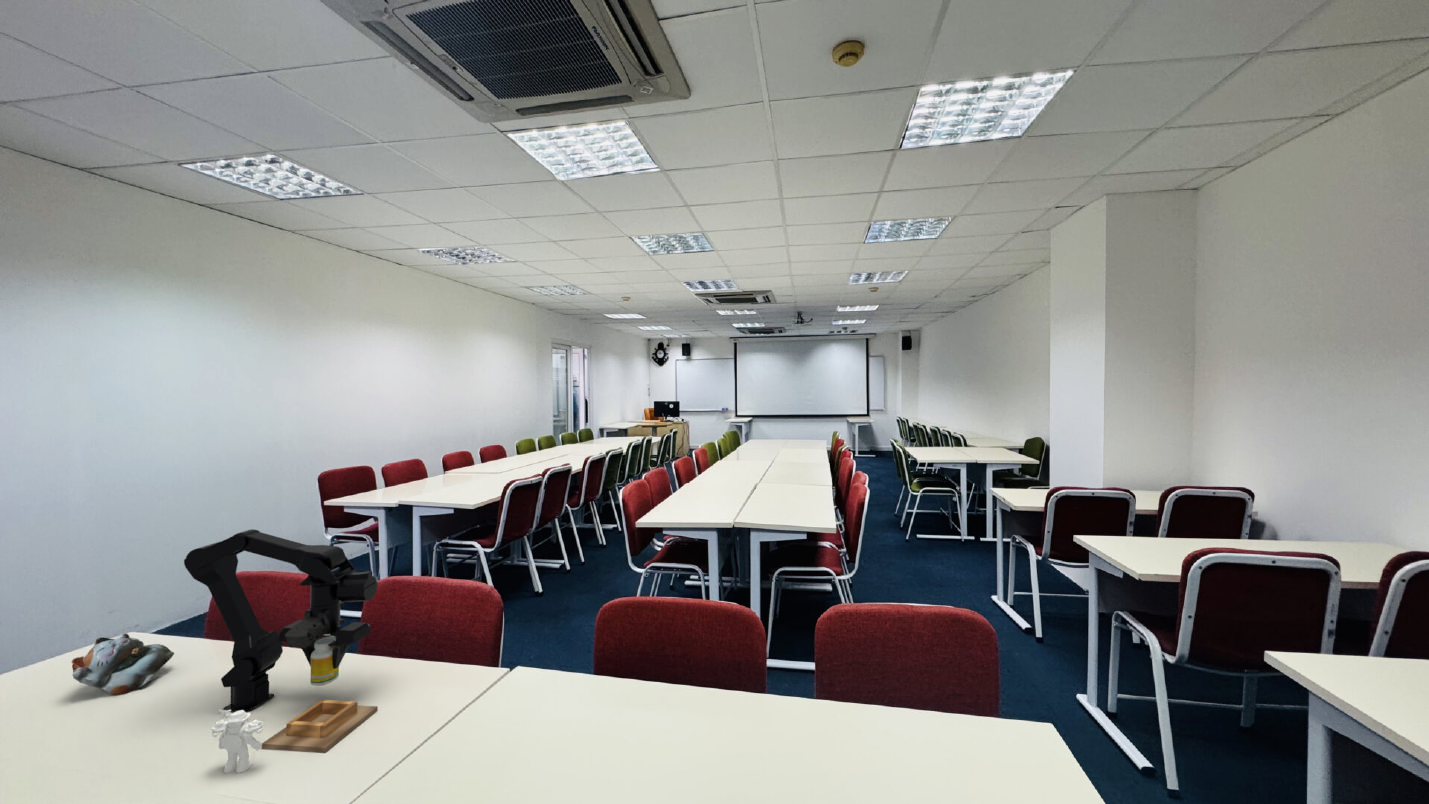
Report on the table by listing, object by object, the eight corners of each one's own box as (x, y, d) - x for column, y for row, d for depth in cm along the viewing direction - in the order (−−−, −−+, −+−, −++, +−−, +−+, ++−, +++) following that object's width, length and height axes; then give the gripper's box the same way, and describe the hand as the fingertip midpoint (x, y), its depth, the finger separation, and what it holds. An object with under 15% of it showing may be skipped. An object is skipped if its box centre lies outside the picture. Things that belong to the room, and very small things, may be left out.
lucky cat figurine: (133, 696, 120) (90, 654, 116) (86, 716, 120) (40, 675, 116) (187, 649, 134) (150, 610, 130) (145, 667, 134) (106, 629, 130)
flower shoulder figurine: (204, 775, 95) (205, 712, 95) (225, 760, 99) (226, 699, 99) (251, 776, 94) (252, 712, 95) (270, 761, 98) (271, 700, 99)
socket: (261, 748, 102) (261, 731, 102) (320, 707, 116) (320, 692, 116) (325, 752, 101) (325, 735, 101) (377, 710, 115) (377, 695, 115)
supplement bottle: (310, 679, 120) (310, 639, 120) (338, 672, 123) (338, 633, 123) (310, 689, 116) (310, 647, 116) (339, 681, 119) (339, 640, 119)
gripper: (256, 614, 112) (255, 684, 112) (333, 617, 111) (333, 688, 111) (300, 595, 123) (300, 659, 123) (372, 598, 122) (371, 662, 122)
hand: (324, 667), depth 119 cm, fingers closed on supplement bottle, 5 cm apart
